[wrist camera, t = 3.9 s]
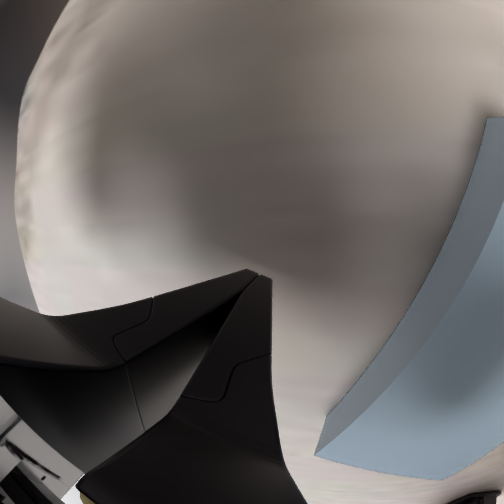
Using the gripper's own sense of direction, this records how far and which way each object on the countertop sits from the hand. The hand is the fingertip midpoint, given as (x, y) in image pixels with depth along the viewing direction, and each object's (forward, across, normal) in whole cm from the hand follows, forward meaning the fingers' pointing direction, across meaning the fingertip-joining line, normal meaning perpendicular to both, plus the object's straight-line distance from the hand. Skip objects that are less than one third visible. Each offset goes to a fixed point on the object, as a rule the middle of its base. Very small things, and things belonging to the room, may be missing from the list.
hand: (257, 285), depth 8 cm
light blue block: (+1, -12, 0) cm, 12 cm away
